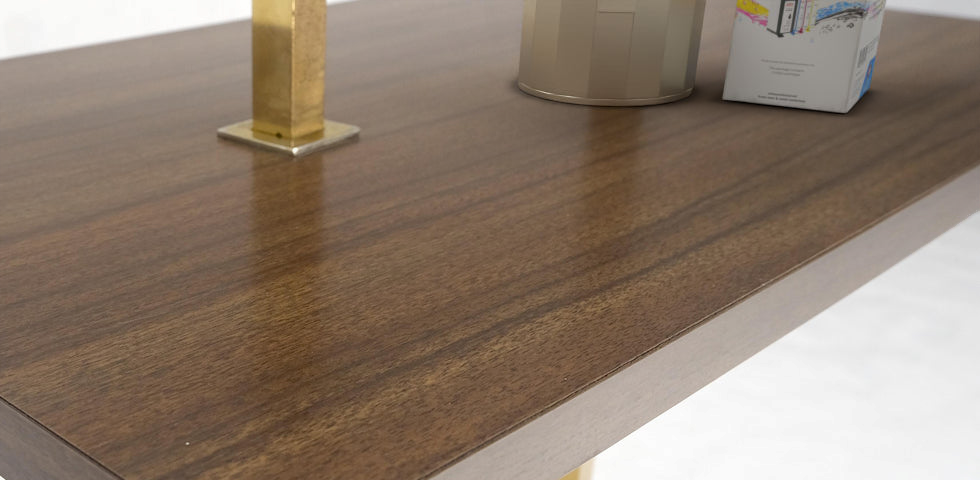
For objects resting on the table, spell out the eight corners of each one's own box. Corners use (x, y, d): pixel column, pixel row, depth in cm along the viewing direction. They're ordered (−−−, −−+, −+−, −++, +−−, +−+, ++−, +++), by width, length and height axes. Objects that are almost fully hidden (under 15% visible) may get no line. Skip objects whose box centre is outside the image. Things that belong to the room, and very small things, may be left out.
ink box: (750, 78, 89) (776, -84, 84) (871, 91, 85) (906, -81, 80) (717, 100, 83) (743, -74, 78) (846, 115, 79) (882, -69, 74)
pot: (682, 66, 94) (697, -45, 91) (702, 118, 78) (721, -13, 75) (523, 61, 97) (531, -46, 94) (511, 111, 81) (521, -16, 78)
